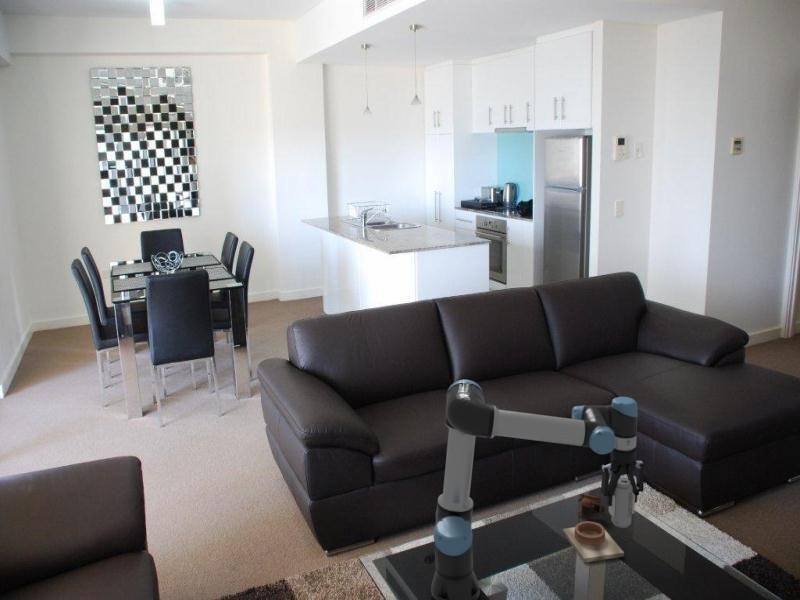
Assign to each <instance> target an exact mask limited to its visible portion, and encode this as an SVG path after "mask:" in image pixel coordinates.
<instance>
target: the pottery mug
mask: <svg viewBox="0 0 800 600" xmlns="http://www.w3.org/2000/svg"><path fill="white" fill-rule="evenodd" d="M577 502H579V503H580V505H581V509H578V511H577V513H578V514H577V515H578V516H579V517H582V518H585V519H589V520H593V519H594V516H595V517H596V518H598V517H600V516H601V515H603V514H604V512H605V510H606V508H605V505H604V504H603V503H602V498H601V497H598V496H593V495H589V494H584V493H581V494H580V497H579V498H578V500H577Z"/></svg>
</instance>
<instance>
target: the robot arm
mask: <svg viewBox="0 0 800 600" xmlns="http://www.w3.org/2000/svg"><path fill="white" fill-rule="evenodd" d="M445 397H446V404H445V405H446V406H445V416H444V425H445V426H446V427H447V428H448V436H447V445H446V446H447V448H446V458H445V460H446V461H445V468H444V477H443V478H444V479H443V489H442V493H441V494H440V495H439V496H438V498H437V504H436V505H437V506H436V510H435V517H434V518H435V527H434V531H433V541H434V556H435V558H434V559H435V561H434V562H435V572H434V575H433V579H432V581H431V584H430V586H431V587H430V590H431V591H430V592H431V593H432V594H431V597H432V596H433V597H434V599H436V600H479V597H480V592H481V591H480V585H479V581H478V579H477V576H476V574H475V571H474V556H473V555H474V553H473V551H474V550H473V540H474V538H473V537H474V536H473V530H472V519H473V511H474V510H473V508H474V500H473V499H472V498H471V497H470V493H471V486H472V485H471V484H472V474H473V466H474V465H473V464H474V454H475V444H476V437H479V438H484V439H493V438H495V437H496V436H497V437H507V438H514V439H516V438H517V439H522V440H530V441H539V442H545V443H546V442H547V443H554V444H562V445H570V446H578V447H584V448H590V449H591V450H592V451H593V452H594V453H596V454H599V455H607V454H610V461H609V463H608V464H606V465H605V464H602V465H601V466H600V468H601V471H602V472H601V473H602V475H601V484H600V485H601V486H600V493H601V494H602V495H603V496H604V497H606V501H605V502H606V505H607V506H608V513H609V514H610V515H611V517H612V516H615V497H614V496H613V494H614V491H615V488H616V486H617V483H618V480H619V479H620V477H621V476H623V475H626V478H627V479H629V480H630V481H631V485H632V487H633V489H632V514H633V515H634V514H635V509H636V508H635V504H636V503H638V497H639V495H640V493H643V492H644V491H645V490H644V488H645V486H644V485H645V484H644V469H645V466H646V465H645V464H646V463H644V462H643V461H642V460H641V459H639V460H636V458H637V438H638V437H637V430H638V429H637V428H638V416H639V415H638V403H637V401H636V400H635V399H633V398H631V397H628V396H618V397H615V398H613V399H612V401H611V404H608V405H586V404H585V405H576V406H573V408H572V411H571V418H567V417H561V416H560V417H559V416H553V415H552V416H551V415H544V414H537V413H529V412H522V411H521V412H520V411H512V410H505V409H499V408H498V407H496V405H491V404H486V403H485V394H484V391H483V389H482V387H481V386H480V385H479V384H478V383H477V382H476V381H473V380H470V379H459V380H457V381H454V382H453V383H452V384H450V386H449V387H448V388H447V392H446V396H445ZM634 468H635V477H634V472H633V470H634ZM611 469H612V471H611ZM610 473H611V476H610ZM635 479H636V480H635ZM433 597H432V598H433ZM434 599H433V600H434Z"/></svg>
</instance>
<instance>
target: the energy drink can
mask: <svg viewBox="0 0 800 600" xmlns="http://www.w3.org/2000/svg"><path fill="white" fill-rule="evenodd" d="M632 489H633V487H632V485H631V481H630V480H629V479H628V477H623V476H622V477H620V479H619V480H618V483H617V486H616V488H615V491H614V494H613V496H614V497H615V516H612V515H611V522H612V523H613V525H614V526H615V527H618V528H621V529H622V528H623V529H624V528H628V527H630V525H631V524H632Z"/></svg>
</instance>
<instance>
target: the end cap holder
mask: <svg viewBox="0 0 800 600" xmlns="http://www.w3.org/2000/svg"><path fill="white" fill-rule="evenodd" d="M562 534H563V535H564V537H565V538H566V540H567V541H568V543H570V545H571V547H572V548H573V549H574V550H575V552H576V554H577V555H578V556H579V557H580V559H581V560H582V562H583V563H590V562H596V561H597V562H598V561H602V560H603V561H604V560H609V559H617V558H622V557H625V556H624V555H625V552H624V550H623V549H622V548H621V547H620V546H619V545H618V544H617V542H616V541H615V540H614V538H612V537H611V535H610V533H608V531H607V530H606V529H605V527H604V526H603V525H602V523H598V522H595V521H588V520H586V521H580V522H578V523H577V524H575V526H573V527H568V528H562Z"/></svg>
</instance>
